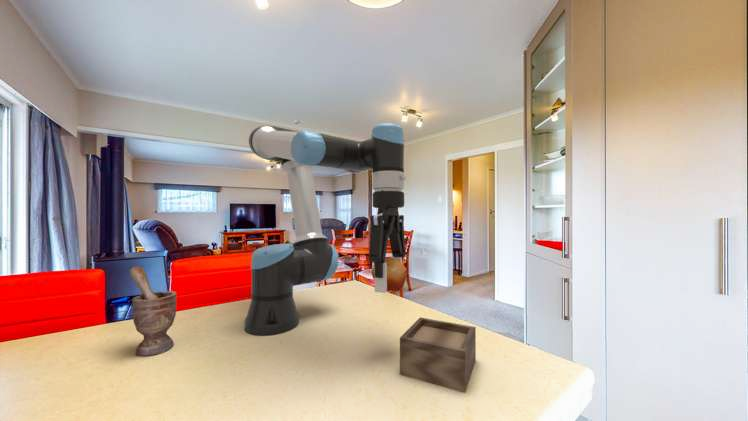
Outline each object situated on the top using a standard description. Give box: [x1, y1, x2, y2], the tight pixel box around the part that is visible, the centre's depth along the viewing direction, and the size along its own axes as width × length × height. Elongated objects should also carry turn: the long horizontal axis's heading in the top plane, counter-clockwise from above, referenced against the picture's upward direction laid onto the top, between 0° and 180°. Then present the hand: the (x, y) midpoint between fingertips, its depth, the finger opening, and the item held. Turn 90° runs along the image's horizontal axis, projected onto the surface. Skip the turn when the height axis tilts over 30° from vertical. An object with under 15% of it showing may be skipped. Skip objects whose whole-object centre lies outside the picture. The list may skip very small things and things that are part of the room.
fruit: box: [371, 257, 407, 291], centre depth 69 cm, size 8×8×8 cm
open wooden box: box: [399, 316, 477, 393], centre depth 62 cm, size 13×13×8 cm
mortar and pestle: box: [129, 265, 178, 357], centre depth 70 cm, size 12×9×20 cm
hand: (389, 287), depth 68 cm, fingers closed on fruit, 8 cm apart
